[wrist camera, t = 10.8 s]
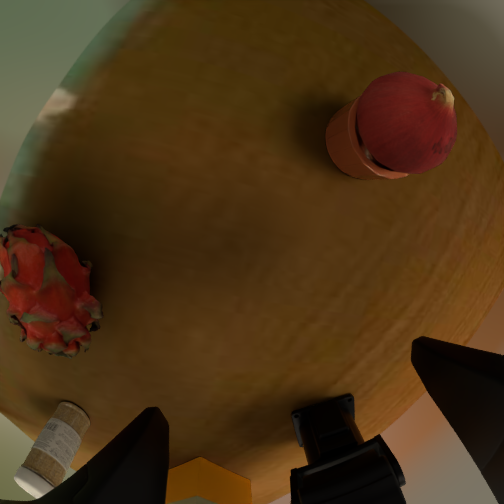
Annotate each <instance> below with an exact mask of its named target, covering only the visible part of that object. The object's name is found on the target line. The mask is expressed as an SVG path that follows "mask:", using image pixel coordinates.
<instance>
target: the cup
mask: <svg viewBox="0 0 504 504" xmlns="http://www.w3.org/2000/svg"><path fill="white" fill-rule="evenodd" d="M360 97H361V96H359V97H358V98H356V99H355V100H353V101H352V102H350V103H349V104H347V105H346V106H345V107H343V108H342V109H340V110H339V111H337V112H336V113H335V114H334V115H333V116H332V118H331V119H330V121H329V123H328V125H327V128H326V135H325V140H326V147H327V150H328V153H329V155H330V157H331V159H332V161H333V162H334V163H335V165H336V166H337V167H338V168H339V169H340V170H341V171H342V172H344V173H345V174H347V175H349V176H351V177H354V178H357V179H365V180H373V179H396V178H401V177H406V176H407V175H408V174H410V173H402V172H396V171H394V170H392V169H390V168H388V167H387V166H385V165H383V164H381V163H380V162H378V161H377V160H376V159H375V158H374V156H373V155H372V154H371V153H370V152H369V151H368V150H367V148H366V146H365V144H364V142H363V140H362V138H361V135H360V133H359V127H358V120H357V108H358V103H359V98H360Z"/></svg>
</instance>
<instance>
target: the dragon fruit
mask: <svg viewBox="0 0 504 504" xmlns="http://www.w3.org/2000/svg"><path fill="white" fill-rule="evenodd" d="M36 226H37V227H27V226H24V225H20V224H16V225H12V226H10V227H7V228H4V230H3V231H5V232H8V233H7V234H8V235H7V236H6V237H3V236H2V235H1V234H0V262H1V265H2V267H3V269H4V277H5V278H4V279H2V280H1V281H0V291H1V292H2V293H3V294H4V295H5V296H6V298H7V300H8V301H9V302H10V306H9V308H8V310H7V315H8V317H9V320H10V323H12V324H14V325H17V324H18V325H19V326H20V327H21V328H22V331H21V336H20V341H21V342H23V341H25V339H26V338H27V344H28V346H29V347H30V348H31V349H33V350H38V352H40V351H41V350H42V349H44V350H45V351H47V352H48V353H49V354H50V355H51V354H54V355H55V356H63V357H67V358H70V359H72V357H73V356H76V355H77V354H78V353H79V351H80V346H83V347H84V348H85V351H84V352H86V350H88V349H89V346H90V344H91V335H90V333H89V332H91V331H97V330H98V329H100V324H99V320H98V319H101V318H103V312H102V304H101V303H100V302H99V301H97V300H95V298H94V297H93V296H90V280H89V275H90V272H91V268H92V264H91V262H90V261H88V260H87V261H82V266H81V265H80V263H79V260H78V257H77V255H76V254H75V252H74V250H73V249H72V248H71V247H70V246H69V245H68V244H66V243H65V242H63V241H62V240H61V239H60V238H58V237H57V236H55V235H54V234H52V233H50V232H48V231H45V229H44V228H43V227H42V226H41V225H40V224H37V225H36ZM90 323H92V327H91V328H90V331H88V329H87V328H86V325H88V324H90Z"/></svg>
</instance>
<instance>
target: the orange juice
mask: <svg viewBox="0 0 504 504" xmlns="http://www.w3.org/2000/svg"><path fill="white" fill-rule="evenodd" d="M165 504H252V496H251V483H250V480H249V479H247V478H244V477H242V476H240V475H237V474H235V473H233V472H231V471H229V470H226V469H224V468H222V467H220V466H218V465H216V464H214V463H212V462H210V461H208V460H206V459H204V458H203V457H201V456H200V457H198V458H196V459H193V460H191V461H189V462H186V463H184V464H182V465H179V466H177V467H174V468H172V469H169V470H168V480H167V490H166V501H165Z"/></svg>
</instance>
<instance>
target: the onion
mask: <svg viewBox="0 0 504 504" xmlns="http://www.w3.org/2000/svg"><path fill="white" fill-rule="evenodd" d="M453 103H454V97H453V95H452V93H451V91H450V90H449V89H448V88H447V87H445V86H444V85H443V84H442V83H441V84H439V85H438V86H437V85H436V84H435V83H433V82H431V81H430V80H428V79H426V78H424V77H422V76H418V75H414V74H411V73H407V72H395V73H391V74H388V75H384V76H381V77H379V78H377V79H375V80H374V81H372V83H371V84H370V85H369V86H368V87H367V89H366V90H365V91H364V92H363V94H362V95H361V97H360V98H359V103H358V108H357V120H358V127H359V133H360V135H361V138H362V140H363V142H364V144H365V146H366V148H367V150H368V151H369V152H370V153H371V154H372V155H373V156H374V158H375V159H376V160H377V161H378V162H380V163H381V164H383V165H385V166H387V167H388V168H390V169H392V170H394V171H396V172H402V173H410V174H420V173H423V172H425V171H427V170H429V169H432V168H434V167H436V166H438V165H440V164H441V163H442V162H443V161H444V160H445V159H446V158H447V156H448V154H449V152H450V151H451V149H452V147H453V145H454V143H455V141H456V136H457V119H456V113H455V110H454V104H453Z"/></svg>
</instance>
